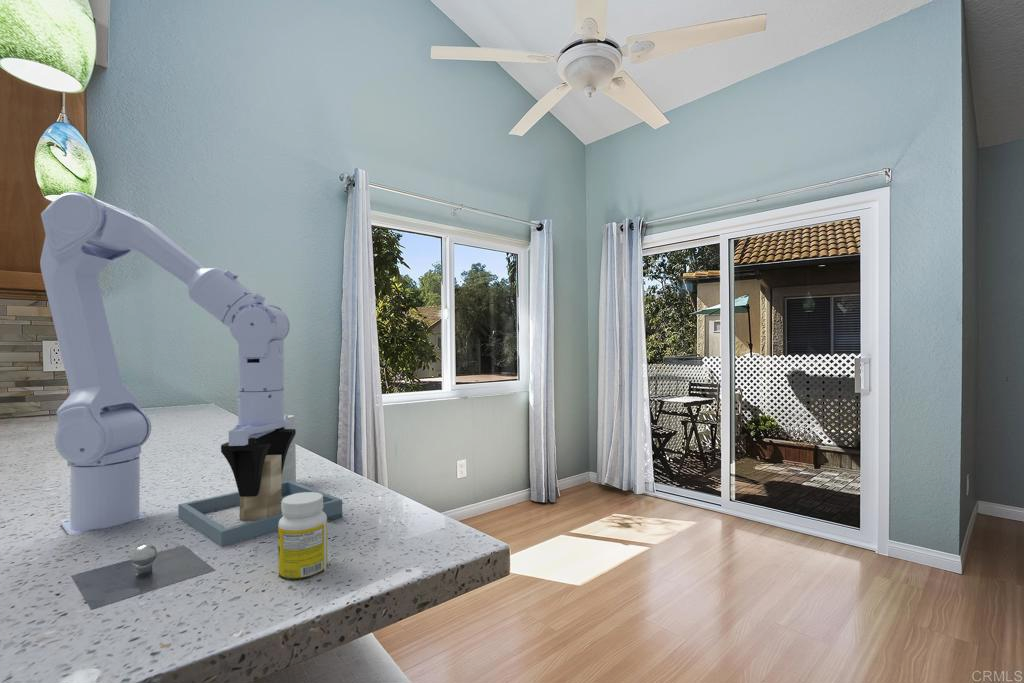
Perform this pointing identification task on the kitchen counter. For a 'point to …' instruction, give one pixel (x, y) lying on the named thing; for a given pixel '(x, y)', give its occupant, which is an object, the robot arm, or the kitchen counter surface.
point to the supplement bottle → (302, 537)
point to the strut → (264, 492)
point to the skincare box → (290, 458)
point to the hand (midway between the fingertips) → (261, 487)
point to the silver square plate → (139, 574)
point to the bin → (226, 536)
